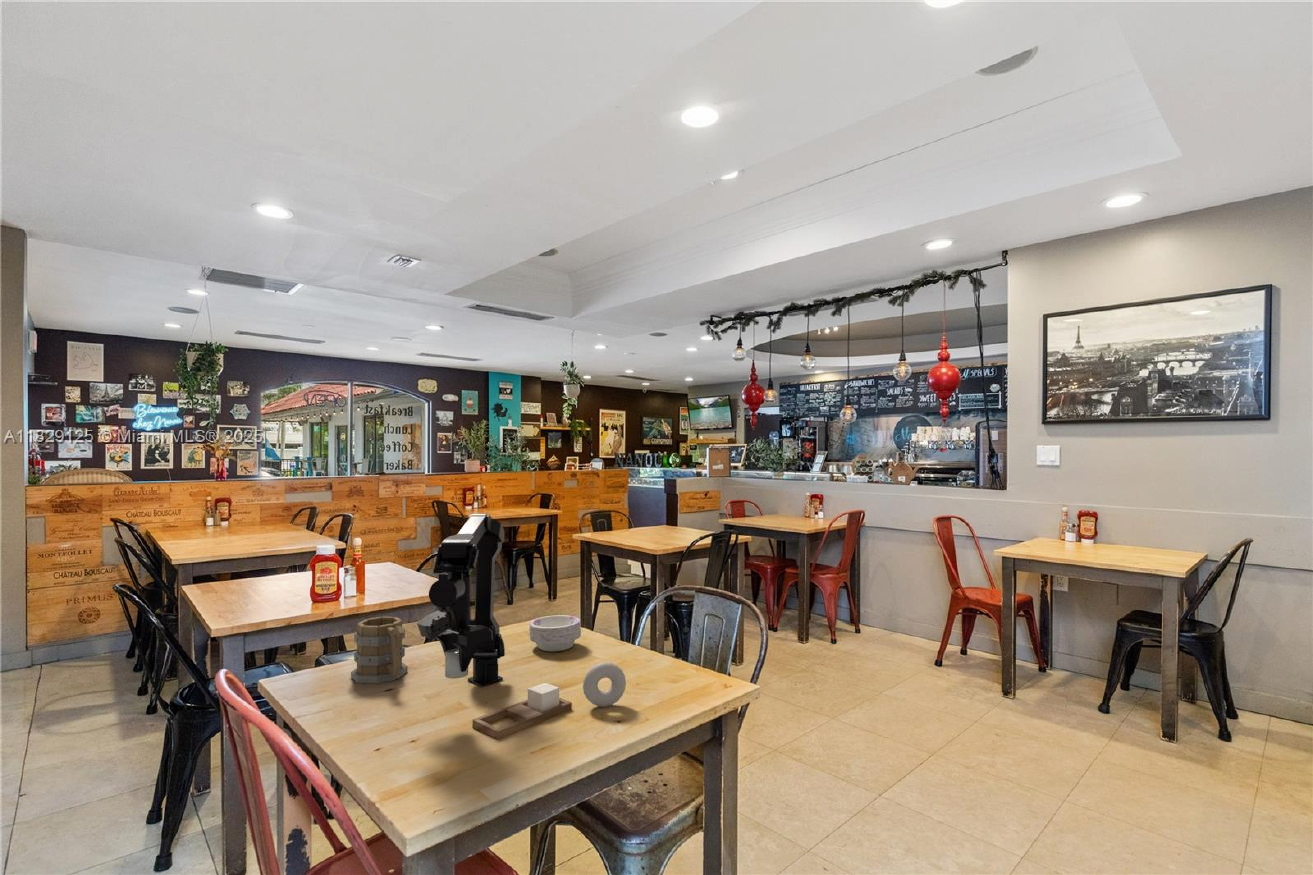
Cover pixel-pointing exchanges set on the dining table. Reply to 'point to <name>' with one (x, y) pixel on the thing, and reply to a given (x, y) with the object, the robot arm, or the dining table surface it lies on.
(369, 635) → the tankard
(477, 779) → the dining table surface
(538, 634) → the paper bowls
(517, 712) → the walnut caddy
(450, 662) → the salt cellar
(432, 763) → the dining table surface
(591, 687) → the donut
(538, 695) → the white rounded cube
